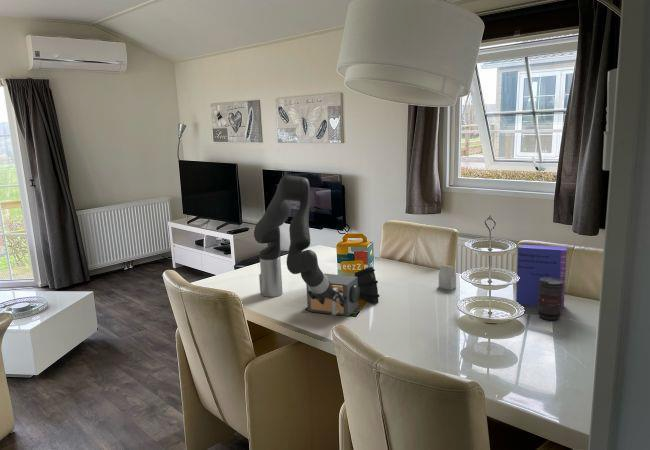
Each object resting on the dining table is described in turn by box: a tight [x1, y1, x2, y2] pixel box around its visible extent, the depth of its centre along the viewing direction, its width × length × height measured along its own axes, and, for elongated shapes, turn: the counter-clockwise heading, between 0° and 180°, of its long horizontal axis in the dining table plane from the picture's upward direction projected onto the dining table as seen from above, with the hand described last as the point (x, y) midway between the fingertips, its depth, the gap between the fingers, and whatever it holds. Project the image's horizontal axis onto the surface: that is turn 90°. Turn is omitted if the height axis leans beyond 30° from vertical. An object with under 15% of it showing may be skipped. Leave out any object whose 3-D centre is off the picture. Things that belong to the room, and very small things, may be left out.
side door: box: [309, 285, 344, 316], centre depth 201 cm, size 15×5×11 cm, turn 65°
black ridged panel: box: [353, 266, 380, 305], centre depth 218 cm, size 4×13×15 cm, turn 31°
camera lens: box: [537, 277, 563, 323], centre depth 189 cm, size 8×8×15 cm
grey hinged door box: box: [305, 272, 360, 317], centre depth 208 cm, size 20×11×14 cm, turn 65°
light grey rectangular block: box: [438, 264, 457, 291], centre depth 229 cm, size 4×7×10 cm, turn 41°
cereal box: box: [515, 244, 568, 310], centre depth 202 cm, size 17×5×24 cm, turn 65°
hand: (333, 303), depth 197 cm, fingers open, 8 cm apart
